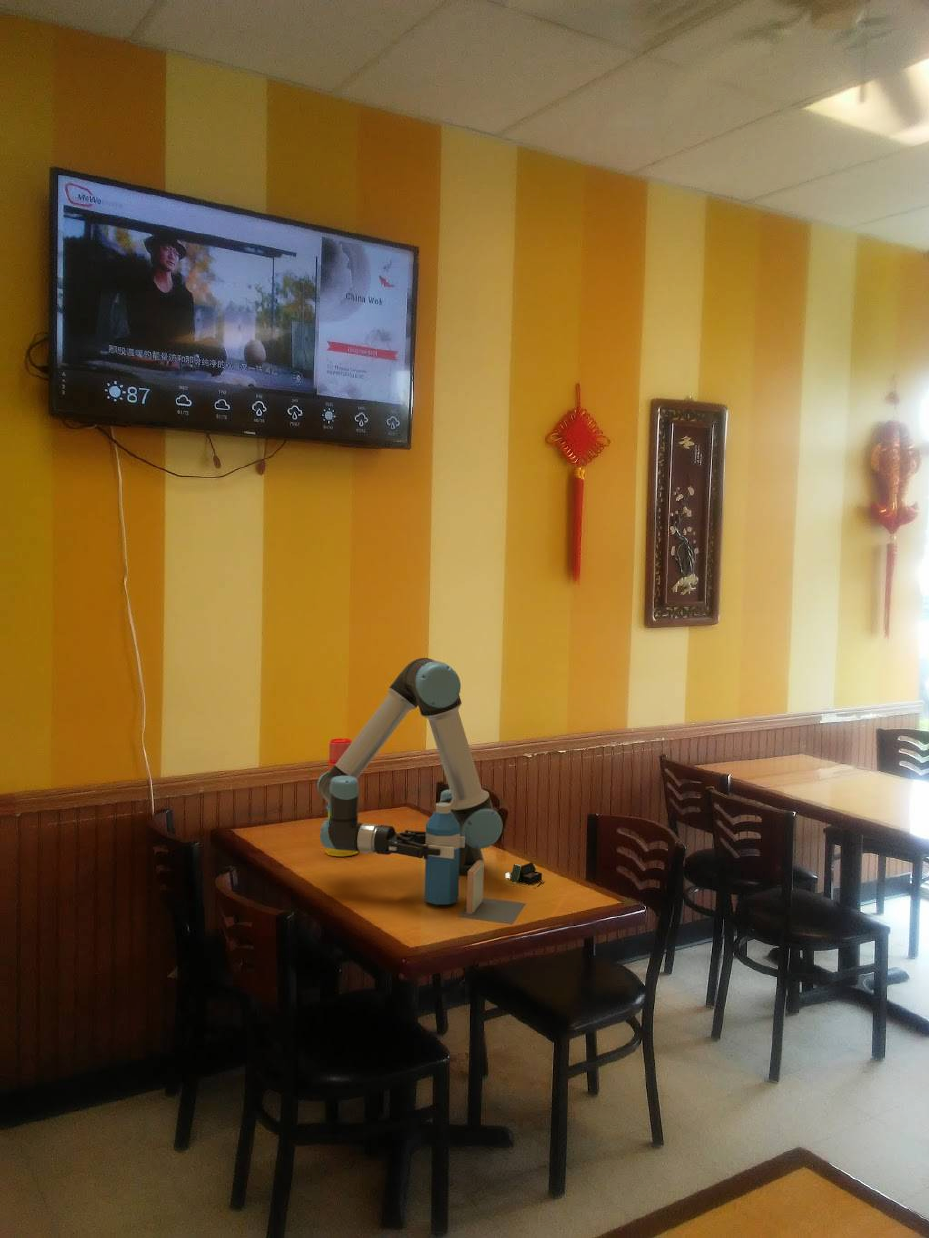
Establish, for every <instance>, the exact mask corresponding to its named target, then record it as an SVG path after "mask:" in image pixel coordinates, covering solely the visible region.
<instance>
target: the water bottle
mask: <svg viewBox="0 0 929 1238" xmlns="http://www.w3.org/2000/svg"><path fill="white" fill-rule="evenodd" d="M425 831H426V844H425V846H428V848H429V845H436V846H445V847H454V858H453V859H452V858H442V857H433V856H429V855H428V859H424V860H425V862H424V864H425V865H424V867H425V868H424V901H425V902H427V903H430V904H433V905H451V904H454V903H457V902H459V890H460V889H459V888H460V887H459V884H460V883H459V882H460V875H459V846H460V826H459V823H458V821H457V820H456V818H455V817H454V816H453V814H452V813H451V804H450V803H440V802H436V803H435V811H434V812H433V814H432V815H431V817H430V818H429V819H428V820H427V822H426V823H425Z"/></svg>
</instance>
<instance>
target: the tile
mask: <svg viewBox="0 0 929 1238" xmlns="http://www.w3.org/2000/svg"><path fill="white" fill-rule="evenodd" d="M484 868H485V862H484V863H483V861H481V860H478V861H477V862H476V863H475V864H474V865H473V866H472V867H471V868H470V869H469V871H468V874H467V884H466V886H467V889H466V890H467V891H466V907H467V914H472V913H473V912H474V911H475V910H476V909H477V907H478V906H479V905H480V904H481V902H482V901H483V898H484V875H485V874H484V873H485V872H484V871H485V869H484Z"/></svg>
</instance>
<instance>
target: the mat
mask: <svg viewBox="0 0 929 1238" xmlns="http://www.w3.org/2000/svg"><path fill="white" fill-rule="evenodd" d="M526 905H527V903H526V902H518V901H510V900H503V899H502V900H501V899H495V898H488V897H483V901H482V902H481V904H480V905H479V906H478V907H477V909H476V910H475V911H474V912H473V913H472V914H467V906H466V907H465V908H464V909H463V911H462V912H461V913H460V914H459V915H458V918H463V919H469V920H470V919H471V920H477V921H486V922H492V923H499V924H500V923H501V924H509V925H513V924H514V922H516V919H517V918H518V917H519V915H520V914H521V913H522V910H524V908H525V906H526Z"/></svg>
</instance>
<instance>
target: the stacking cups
mask: <svg viewBox="0 0 929 1238" xmlns="http://www.w3.org/2000/svg"><path fill="white" fill-rule="evenodd" d="M352 742H353V741H352V739H351V738H345V737H344V738H343V737H342V738H333V739H330V741H329V748H328V749H329V751H328V752H329V753H328V754H329V755H328V758H329V759H328V761H327V764H328V772H329V771H330V770H331V769H332V768H333V766H334V765H335V764H336V763H337V761H338V760H339V759H340V758H341V756H342V755H343V754H344V752H345V751H346V750H347V748H348V747H349V746H350V744H351V743H352ZM327 803H328V802H327ZM325 807H326V809H327V820H330V804H329V803H328V804H327V805H326V806H325ZM325 853H326V855H328V856H331V857H349V856H353V855H354V856H355V855H357V854H359V852H358V851H347V850H336V849H331V848H326V849H325Z"/></svg>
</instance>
